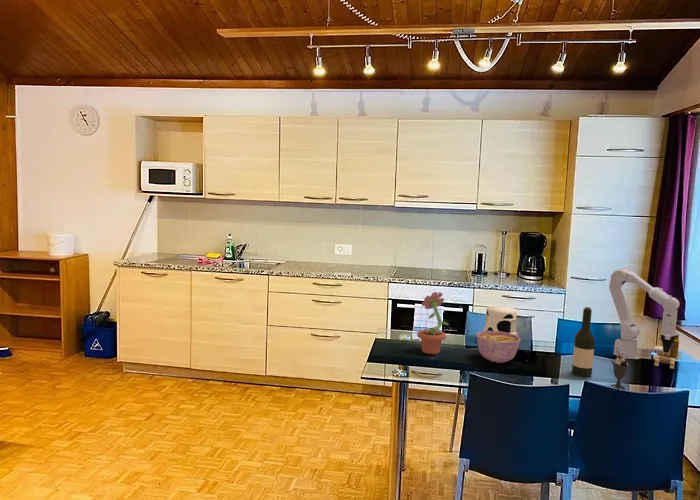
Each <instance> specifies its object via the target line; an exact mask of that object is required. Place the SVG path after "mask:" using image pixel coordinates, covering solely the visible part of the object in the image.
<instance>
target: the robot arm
mask: <svg viewBox="0 0 700 500" xmlns="http://www.w3.org/2000/svg"><path fill="white" fill-rule="evenodd" d="M609 280H610V281H609V285H608V288H609V289H608V290H609V293H610V295H611V298H612V301H613V303H614V307H615V310H616V312H617V316H618V319H619V321H620V324H619V327H620V331H619V332H620V338H617V339H615V341H614V349H613V353H612V354H613V355H614V356H616V357H617V356H619V353H620V355H621V357H623V358H624V359H625V360H640V357H638V356H637V349H638V340H639V339H638V336H640V333H641V331H640V328H639V327H638V326H637V325H636V322H635V321H634V320H633V318H632V316H631V313H630V310H629V307H628V304H627V301H626V298H625V296H624V293H623V290H622V288H623V287H624V285H625V283H632V284H635V285H636V286H637V287H638V288H641V289H642V290H643V291H645V292H647V294H648V296H649V298H651V299H652V300H653V301H655V302H656V303H658V304H659V305H661V306H662V308H663V314H662V320H661V321H662V322H661V329H660V330H661V331H660V334H661V335H660V340H661V343H662V347H663V352H666V353H669V350H670V347H671V344H672V343H673V341H674V338H675V337H674V336H675V335H676V336H678V333H676V329H677V328H676V327H677V319H678V309H679V308H680V301H679V300H678V299H677V298H676V297H673V296H672V295H671V294H670V295H669V294H668V293H666V292H665V291H664V289H663V288H661V287H653V286H652V285H650V284H649V282H647V281H645V280H644V279H643V278H641V277H640V276H639V275H638V274H637V273H636V272H634V271H632V270H630V269H628V268H625V267H623V268H620V269H615V270H614V271H613V272H612V273H611V275H610V279H609ZM617 350H618V351H619V352H618V351H617Z"/></svg>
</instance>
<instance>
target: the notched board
mask: <svg viewBox="0 0 700 500" xmlns="http://www.w3.org/2000/svg"><path fill="white" fill-rule="evenodd" d="M655 356H656V357H655V359H654V365H653V366H656V367H659V364H661V363H663V364H668V365H669V369H673V370H674V369H675V364H676V363H675V361H676V359H675V358H669V357H663V356H657V354H656V355H655Z"/></svg>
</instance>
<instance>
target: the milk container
mask: <svg viewBox="0 0 700 500" xmlns="http://www.w3.org/2000/svg"><path fill="white" fill-rule="evenodd" d="M485 313H486V314H485V324H484V327H483V330H482V331H500V332H506V333H510V334H514V335H516V336H518V330H517V319H518V318H517V316H518V315H517V314H518V310H517V309H516V308H514V307H511V306H505V305H489V306H487V307H486V311H485Z"/></svg>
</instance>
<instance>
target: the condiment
mask: <svg viewBox="0 0 700 500" xmlns="http://www.w3.org/2000/svg"><path fill="white" fill-rule="evenodd" d="M677 334H678V333H677ZM674 337H675V338H674V341H673V343H672V344H671V348H670V356H664V357H669V358H675V360H676V359H681V356H678V353H679V347H680V335H679V334H678V336H676V335H675V336H674Z"/></svg>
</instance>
